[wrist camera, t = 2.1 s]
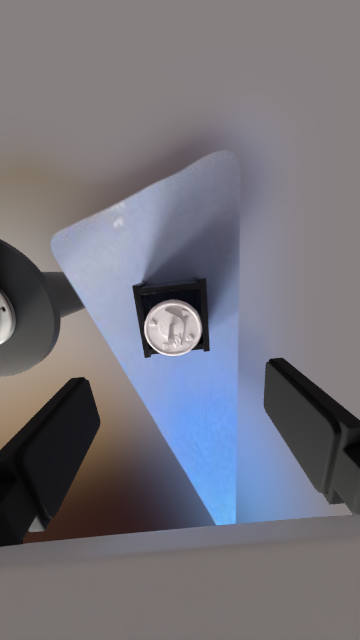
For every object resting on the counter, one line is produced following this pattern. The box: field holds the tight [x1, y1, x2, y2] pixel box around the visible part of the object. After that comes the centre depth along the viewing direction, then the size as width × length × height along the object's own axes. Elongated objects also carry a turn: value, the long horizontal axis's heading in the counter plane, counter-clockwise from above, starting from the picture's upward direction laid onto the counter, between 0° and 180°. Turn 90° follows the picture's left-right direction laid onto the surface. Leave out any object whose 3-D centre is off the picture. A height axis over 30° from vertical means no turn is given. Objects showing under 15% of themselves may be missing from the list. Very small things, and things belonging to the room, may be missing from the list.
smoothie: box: [144, 299, 202, 356], centre depth 21 cm, size 6×6×14 cm
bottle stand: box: [132, 277, 210, 358], centre depth 25 cm, size 9×10×6 cm
